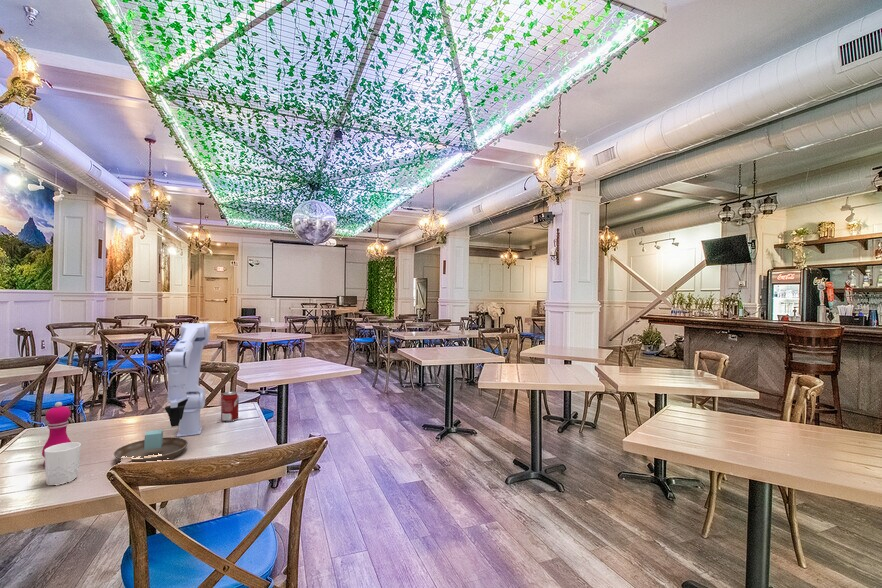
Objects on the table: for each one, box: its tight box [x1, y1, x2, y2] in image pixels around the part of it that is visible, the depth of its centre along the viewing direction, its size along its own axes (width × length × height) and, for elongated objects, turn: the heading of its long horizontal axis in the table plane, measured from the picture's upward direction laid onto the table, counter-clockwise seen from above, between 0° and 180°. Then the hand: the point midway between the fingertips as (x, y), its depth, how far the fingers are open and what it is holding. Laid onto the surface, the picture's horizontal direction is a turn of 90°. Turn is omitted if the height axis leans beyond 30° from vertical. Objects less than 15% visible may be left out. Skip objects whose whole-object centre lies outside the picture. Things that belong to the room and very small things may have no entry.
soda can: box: [220, 391, 240, 423], centre depth 180 cm, size 7×7×12 cm
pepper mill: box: [41, 401, 72, 468], centre depth 132 cm, size 7×7×20 cm
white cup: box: [44, 441, 82, 486], centre depth 120 cm, size 8×8×10 cm
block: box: [144, 429, 164, 450], centre depth 140 cm, size 4×4×5 cm
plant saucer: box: [113, 436, 188, 462], centre depth 140 cm, size 21×21×3 cm
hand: (176, 422), depth 146 cm, fingers open, 7 cm apart
